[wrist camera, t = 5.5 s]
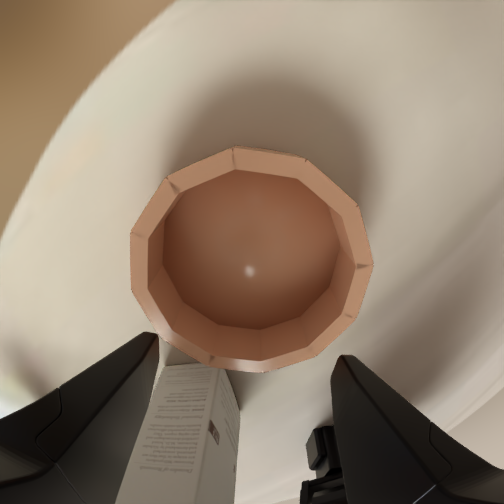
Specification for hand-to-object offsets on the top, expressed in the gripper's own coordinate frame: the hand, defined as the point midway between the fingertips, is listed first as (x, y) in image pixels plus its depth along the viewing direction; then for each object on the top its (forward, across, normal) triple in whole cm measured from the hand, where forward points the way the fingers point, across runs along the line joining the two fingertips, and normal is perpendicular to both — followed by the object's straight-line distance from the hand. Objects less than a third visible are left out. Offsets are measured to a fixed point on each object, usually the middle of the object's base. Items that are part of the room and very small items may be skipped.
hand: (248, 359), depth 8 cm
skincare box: (+9, +2, +11) cm, 14 cm away
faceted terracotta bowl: (+8, 0, 0) cm, 8 cm away
